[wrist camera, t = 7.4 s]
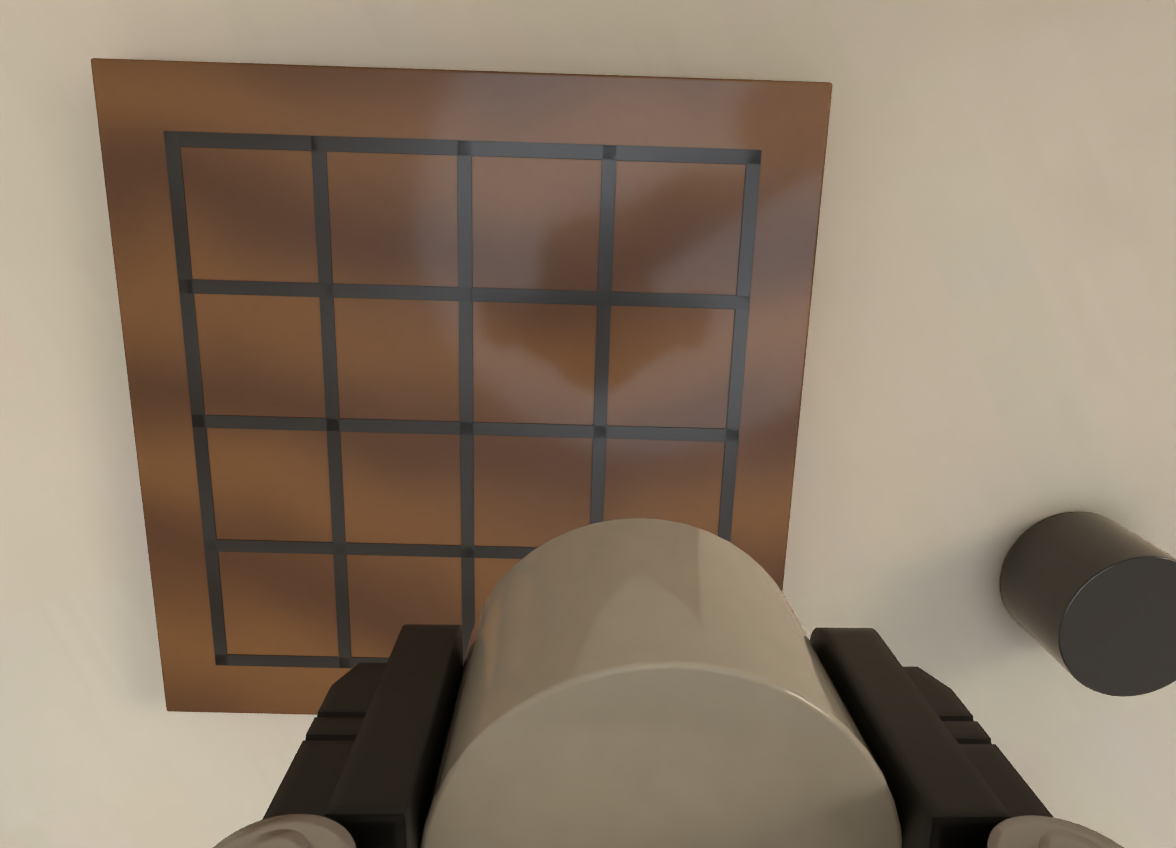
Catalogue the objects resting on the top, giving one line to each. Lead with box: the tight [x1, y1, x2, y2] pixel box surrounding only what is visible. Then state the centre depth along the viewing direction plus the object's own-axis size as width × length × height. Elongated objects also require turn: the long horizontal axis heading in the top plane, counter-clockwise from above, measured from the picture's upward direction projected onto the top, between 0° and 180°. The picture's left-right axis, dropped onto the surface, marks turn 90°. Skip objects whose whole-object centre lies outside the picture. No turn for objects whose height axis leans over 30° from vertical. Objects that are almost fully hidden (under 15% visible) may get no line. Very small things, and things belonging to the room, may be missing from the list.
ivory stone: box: [420, 518, 902, 848], centre depth 9 cm, size 5×5×4 cm
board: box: [91, 58, 832, 715], centre depth 25 cm, size 20×20×2 cm
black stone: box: [1000, 512, 1176, 696], centre depth 26 cm, size 5×5×4 cm
